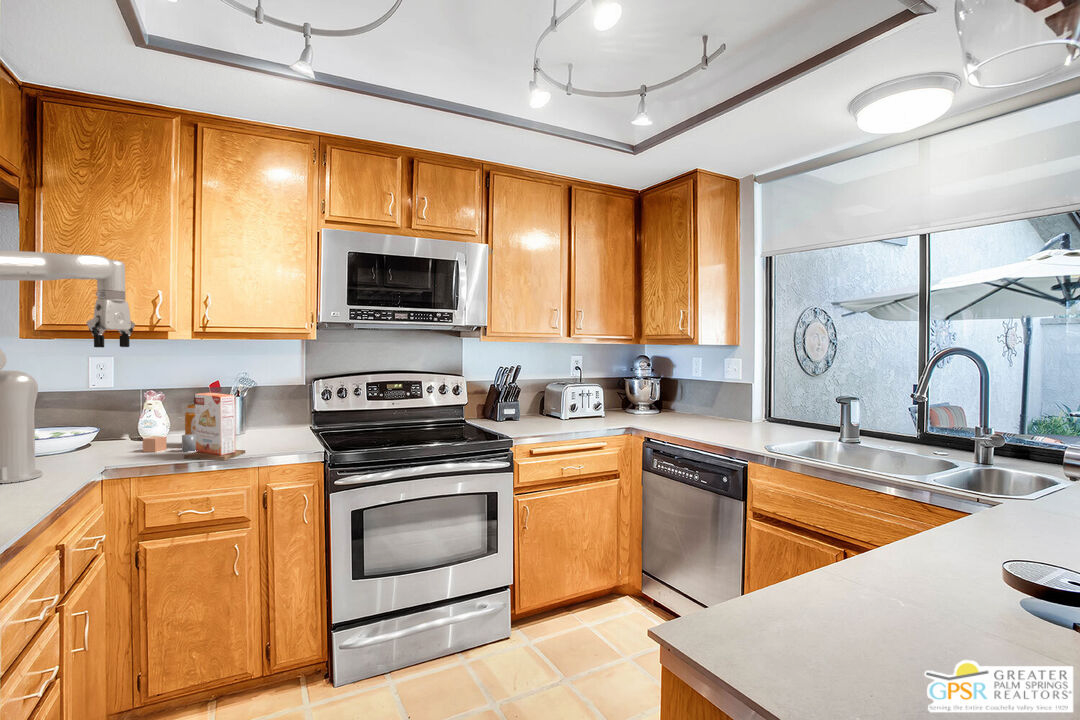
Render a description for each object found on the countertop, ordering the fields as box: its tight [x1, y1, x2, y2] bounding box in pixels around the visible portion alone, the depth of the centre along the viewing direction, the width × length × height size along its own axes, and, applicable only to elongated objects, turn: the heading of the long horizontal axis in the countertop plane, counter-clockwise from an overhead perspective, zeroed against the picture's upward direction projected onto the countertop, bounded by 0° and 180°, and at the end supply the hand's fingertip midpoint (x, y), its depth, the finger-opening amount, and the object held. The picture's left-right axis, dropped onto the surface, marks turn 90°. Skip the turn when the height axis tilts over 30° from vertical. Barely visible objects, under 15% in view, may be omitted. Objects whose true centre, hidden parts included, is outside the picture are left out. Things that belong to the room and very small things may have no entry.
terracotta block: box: [142, 435, 167, 453], centre depth 199 cm, size 5×5×5 cm
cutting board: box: [183, 449, 246, 461], centre depth 193 cm, size 11×15×1 cm
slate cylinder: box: [181, 433, 196, 453], centre depth 200 cm, size 4×4×6 cm
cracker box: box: [194, 392, 236, 456], centre depth 192 cm, size 14×6×21 cm, turn 64°
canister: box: [184, 394, 196, 435], centre depth 210 cm, size 9×11×20 cm
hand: (112, 347), depth 184 cm, fingers open, 9 cm apart
